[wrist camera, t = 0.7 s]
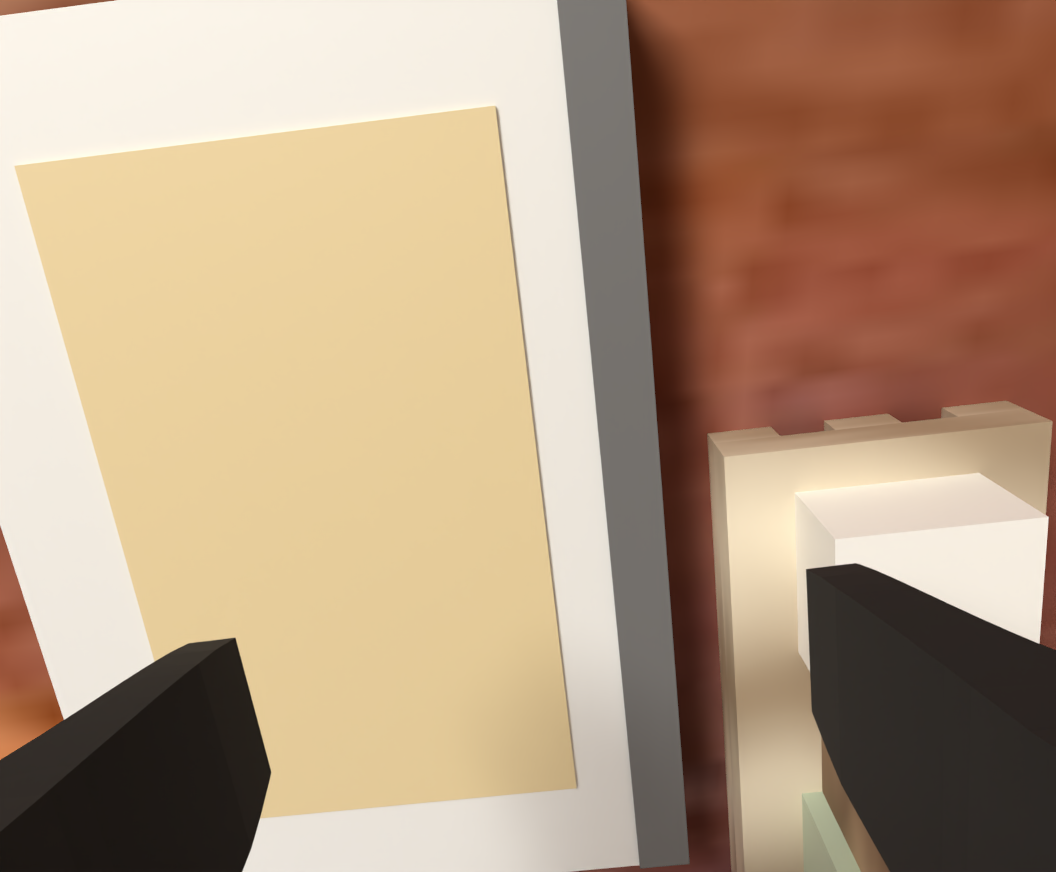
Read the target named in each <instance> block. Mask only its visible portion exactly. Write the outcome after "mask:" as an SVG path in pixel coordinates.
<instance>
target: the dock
mask: <svg viewBox="0 0 1056 872" xmlns="http://www.w3.org/2000/svg"><path fill="white" fill-rule="evenodd" d="M0 525H1V529H2V532H3V535H4V538H5V541H6V544H7V547H8V550H9V553H10V556H11V559H12V562H13V565H14V568H15V571H16V574H17V577H18V580H19V584H20V587H21V590H22V593H23V596H24V599H25V602H26V605H27V608H28V611H29V614H30V617H31V620H32V623H33V626H34V629H35V632H36V635H37V638H38V642H39V645H40V648H41V651H42V654H43V657H44V660H45V663H46V666H47V669H48V672H49V675H50V678H51V681H52V684H53V687H54V690H55V693H56V697H57V700H58V703H59V706H60V709H61V712H62V715H63V718H64V720H65V719H66V718H68V717H69V716H71V715H72V714H74V713H75V712H77V711H78V710H80V709H82V708H83V707H85V706H86V705H88V704H89V703H91V702H92V701H94V700H95V699H97V698H98V697H100V696H101V695H103V694H104V693H106V692H108V691H109V690H111V689H112V688H114V687H115V686H117V685H118V684H120V683H121V682H123V681H124V680H126V679H128V678H129V677H131V676H132V675H134V674H135V673H137V672H139V671H140V670H142V669H143V668H145V667H147V666H148V665H150V664H151V663H153V662H155V661H156V660H158V659H160V658H161V657H163V656H165V655H167V654H168V653H170V652H172V651H174V650H176V649H178V648H180V647H182V646H184V645H186V644H188V643H195V642H203V641H211V640H220V639H228V638H236V641H237V645H238V649H239V653H240V656H241V660H242V664H243V668H244V671H245V675H246V679H247V683H248V686H249V690H250V694H251V698H252V701H253V705H254V709H255V713H256V716H257V720H258V724H259V728H260V731H261V735H262V739H263V743H264V746H265V750H266V754H267V758H268V761H269V765H270V769H271V777H270V781H269V785H268V789H267V793H266V797H265V801H264V805H263V809H262V813H261V817H260V820H259V824H258V827H257V831H256V834H255V838H254V841H253V845H252V848H251V851H250V853H249V856H248V858H247V861H246V864H245V866H244V869H243V871H242V872H571V871H582V870H592V869H603V868H614V867H625V866H636V865H640V868H650V867H661V866H672V865H683V864H690V863H689V849H688V836H687V822H686V808H685V795H684V781H683V768H682V754H681V740H680V727H679V713H678V700H677V686H676V673H675V659H674V645H673V632H672V618H671V605H670V591H669V577H668V564H667V550H666V537H665V523H664V509H663V496H662V482H661V469H660V455H659V441H658V428H657V414H656V401H655V387H654V374H653V360H652V346H651V333H650V319H649V306H648V292H647V278H646V265H645V251H644V238H643V224H642V210H641V197H640V183H639V170H638V156H637V143H636V129H635V115H634V102H633V88H632V75H631V61H630V47H629V34H628V20H627V7H626V0H117V1H109V2H102V3H94V4H86V5H79V6H71V7H64V8H56V9H49V10H41V11H33V12H26V13H18V14H11V15H3V16H0Z"/></svg>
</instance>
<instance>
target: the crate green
mask: <svg viewBox="0 0 1056 872" xmlns="http://www.w3.org/2000/svg"><path fill="white" fill-rule="evenodd" d="M802 817H803V860H804V872H861V871H860V869H859V867H858V864H857V862H856V860H855V858H854V856H853V854H852V852H851V850H850V848H849V846H848V844H847V842H846V840H845V838H844V836H843V833H842V831H841V829H840V827H839V825H838V823H837V821H836V819H835V817H834V815H833V813H832V811H831V809H830V807H829V805H828V802H827V800H826V798H825V796H824V794H823V792H812V793H802Z"/></svg>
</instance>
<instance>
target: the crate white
mask: <svg viewBox="0 0 1056 872" xmlns="http://www.w3.org/2000/svg"><path fill="white" fill-rule="evenodd" d="M1048 518H1049V517H1048V516H1046V515H1045V514H1043V513H1042V512H1040V511H1038V510H1037V509H1035V508H1034V507H1032V506H1031V505H1029V504H1027V503H1026V502H1024V501H1023V500H1021V499H1020V498H1018V497H1016V496H1015V495H1013V494H1012V493H1010V492H1008V491H1007V490H1005V489H1004V488H1002V487H1001V486H999V485H997V484H996V483H994V482H993V481H991V480H990V479H988V478H986V477H985V476H983V475H982V474H980V473H973V474H964V475H955V476H945V477H936V478H927V479H917V480H908V481H899V482H889V483H880V484H870V485H861V486H852V487H842V488H833V489H824V490H814V491H805V492H796V493H795V531H796V573H797V615H798V652H799V654H800V656H801V657H802V659H803V661H804V663H805V664H806V666H807V668H808V670H809V671H810V656H809V631H808V607H807V582H806V569H811V568H819V567H828V566H836V565H844V564H853V563H857V564H860V565H863V566H866V567H869V568H871V569H874V570H876V571H879V572H881V573H883V574H886V575H888V576H890V577H892V578H895V579H897V580H899V581H901V582H903V583H906V584H908V585H910V586H912V587H914V588H916V589H918V590H921V591H923V592H925V593H927V594H929V595H931V596H933V597H935V598H938V599H940V600H942V601H944V602H946V603H948V604H950V605H953V606H955V607H957V608H959V609H961V610H963V611H966V612H968V613H970V614H972V615H974V616H977V617H979V618H981V619H983V620H985V621H988V622H990V623H992V624H994V625H997V626H999V627H1001V628H1003V629H1006V630H1008V631H1010V632H1013V633H1015V634H1017V635H1020V636H1022V637H1024V638H1027V639H1029V640H1031V641H1034V642H1036V643H1038V644H1039V642H1040V629H1041V615H1042V601H1043V587H1044V573H1045V560H1046V546H1047V532H1048Z"/></svg>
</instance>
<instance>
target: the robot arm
mask: <svg viewBox="0 0 1056 872" xmlns="http://www.w3.org/2000/svg"><path fill="white" fill-rule="evenodd" d="M806 582H807V607H808V631H809V656H810V681H811V706H812V713H813V716H814V719H815V721H816V724H817V726H818V729H819V731H820V734H821V737H822V739H823V742H824V744H825V747H826V749H827V752H828V754H829V757H830V759H831V761H832V764H833V766H834V769H835V771H836V773H837V776H838V778H839V780H840V783H841V785H842V787H843V789H844V790H845V792H846V794H847V796H848V798H849V800H850V802H851V803H852V805H853V807H854V809H855V811H856V812H857V814H858V816H859V818H860V819H861V821H862V823H863V825H864V827H865V828H866V830H867V832H868V834H869V836H870V837H871V839H872V841H873V843H874V844H875V846H876V848H877V850H878V852H879V853H880V855H881V857H882V859H883V860H884V862H885V864H886V866H887V867H888V869H889V871H890V872H1056V650H1054V649H1051V648H1049V647H1046V646H1044V645H1041V644H1038V643H1036V642H1034V641H1031V640H1029V639H1027V638H1024V637H1022V636H1020V635H1017V634H1015V633H1013V632H1010V631H1008V630H1006V629H1003V628H1001V627H999V626H997V625H994V624H992V623H990V622H988V621H985V620H983V619H981V618H979V617H977V616H974V615H972V614H970V613H968V612H966V611H963V610H961V609H959V608H957V607H955V606H953V605H950V604H948V603H946V602H944V601H942V600H940V599H938V598H935V597H933V596H931V595H929V594H927V593H925V592H923V591H921V590H918V589H916V588H914V587H912V586H910V585H908V584H906V583H903V582H901V581H899V580H897V579H895V578H892V577H890V576H888V575H886V574H883V573H881V572H879V571H876V570H874V569H871V568H869V567H866V566H863V565H860V564H857V563H853V564H844V565H836V566H828V567H819V568H811V569H806ZM270 777H271V769H270V765H269V761H268V758H267V754H266V750H265V746H264V743H263V739H262V735H261V731H260V728H259V724H258V720H257V716H256V713H255V709H254V705H253V701H252V698H251V694H250V690H249V686H248V683H247V679H246V675H245V671H244V668H243V664H242V660H241V656H240V653H239V649H238V645H237V641H236V638H228V639H220V640H211V641H203V642H195V643H188V644H186V645H184V646H182V647H180V648H178V649H176V650H174V651H172V652H170V653H168V654H167V655H165V656H163V657H161V658H160V659H158V660H156V661H155V662H153V663H151V664H150V665H148V666H147V667H145V668H143V669H142V670H140V671H139V672H137V673H135V674H134V675H132V676H131V677H129V678H128V679H126V680H124V681H123V682H121V683H120V684H118V685H117V686H115V687H114V688H112V689H111V690H109V691H108V692H106V693H104V694H103V695H101V696H100V697H98V698H97V699H95V700H94V701H92V702H91V703H89V704H88V705H86V706H85V707H83V708H82V709H80V710H78V711H77V712H75V713H74V714H72V715H71V716H69V717H68V718H66V719H65V720H63V721H62V722H60V723H59V724H57V725H56V726H54V727H52V728H51V729H49V730H48V731H46V732H45V733H43V734H42V735H40V736H39V737H37V738H35V739H34V740H32V741H30V742H29V743H27V744H26V745H24V746H22V747H21V748H19V749H17V750H16V751H14V752H13V753H11V754H9V755H8V756H6V757H4V758H3V759H1V760H0V872H242V871H243V869H244V866H245V864H246V861H247V858H248V856H249V853H250V851H251V848H252V845H253V841H254V838H255V834H256V831H257V827H258V824H259V820H260V817H261V813H262V809H263V805H264V801H265V797H266V793H267V789H268V785H269V781H270Z"/></svg>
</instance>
